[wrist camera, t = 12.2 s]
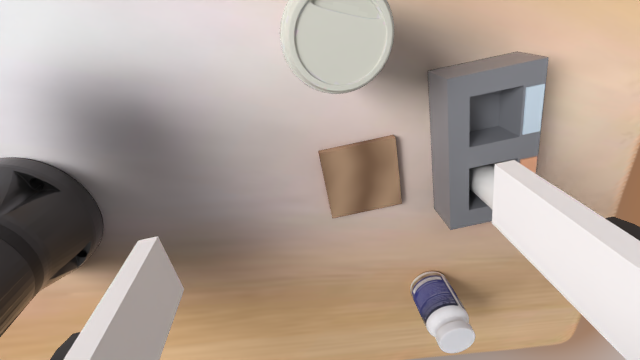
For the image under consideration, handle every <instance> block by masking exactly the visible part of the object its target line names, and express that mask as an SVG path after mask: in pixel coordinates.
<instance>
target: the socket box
mask: <svg viewBox="0 0 640 360" xmlns="http://www.w3.org/2000/svg"><path fill="white" fill-rule="evenodd" d="M547 67H548V57H544V56H539V55H533V54H527V53H522V52H513V53H509V54H504V55H499V56H495V57H490V58H485V59H481V60H476V61H472V62H467V63H462V64H458V65H453V66H448V67H444V68H439V69H434V70H430V71H428V87H429V108H430V130H431V151H432V172H433V194H434V209H435V210H436V212H437V213H438V214H439V215H440V217H441V218H442V219H443V221H444V222H445V223H446V225H447V226H448V227H449V229H450V230H452V229H457V228H462V227H466V226H471V225H476V224H480V223H485V222H490V221H492V209H491V208H490V207H489V206H488V205H487V204H486V203H485V202H483V201H482V200H481V199H480V198H479V197H478V196H477V195H476V194H475V193H474V192H473V191H471V190H470V189H469V168H474V167H479V166H483V165H488V164H493V163H494V164H497V163H502V162H507V161H511V160H515V161H517V162H518V163H520V164H521V165H523V166H525V167H526V168H528V169H529V170H531V171H532V172H534V173H535V174H536V170H537V161H538V151H539V142H540V133H541V123H542V114H543V104H544V95H545V86H546V76H547Z"/></svg>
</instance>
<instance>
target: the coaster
mask: <svg viewBox="0 0 640 360" xmlns="http://www.w3.org/2000/svg"><path fill="white" fill-rule="evenodd" d="M319 156H320V161H321V166H322V171H323V175H324V180H325V185H326V190H327V195H328V199H329V204H330V209H331V214H332V218H337V217H342V216H346V215H351V214H355V213H360V212H365V211H369V210H374V209H379V208H383V207H388V206H393V205H397V204H402V200H401V189H400V179H399V169H398V158H397V148H396V138H395V137H394V135H390V136H386V137H381V138H377V139H372V140H367V141H363V142H358V143H353V144H349V145H344V146H339V147H335V148H330V149H325V150H321V151H319Z"/></svg>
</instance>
